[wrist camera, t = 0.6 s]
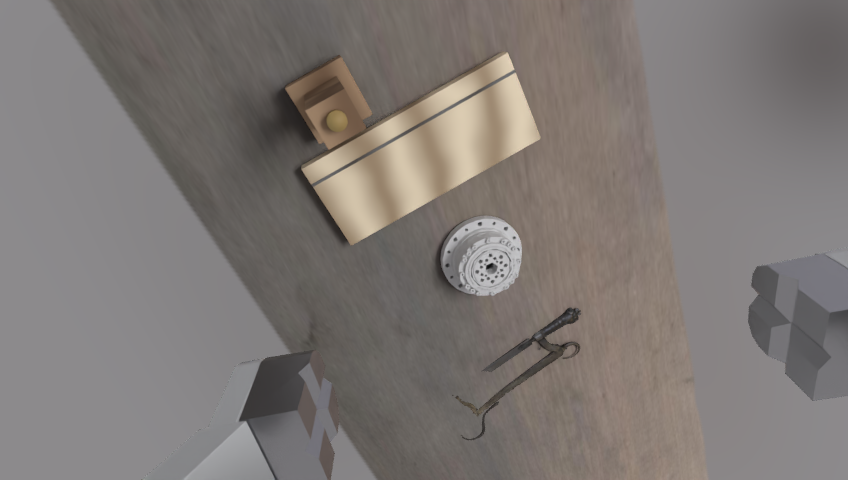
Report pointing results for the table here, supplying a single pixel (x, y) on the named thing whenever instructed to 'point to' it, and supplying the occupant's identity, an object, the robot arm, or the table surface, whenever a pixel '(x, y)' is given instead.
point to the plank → (424, 149)
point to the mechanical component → (481, 256)
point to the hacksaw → (557, 351)
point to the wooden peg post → (330, 102)
